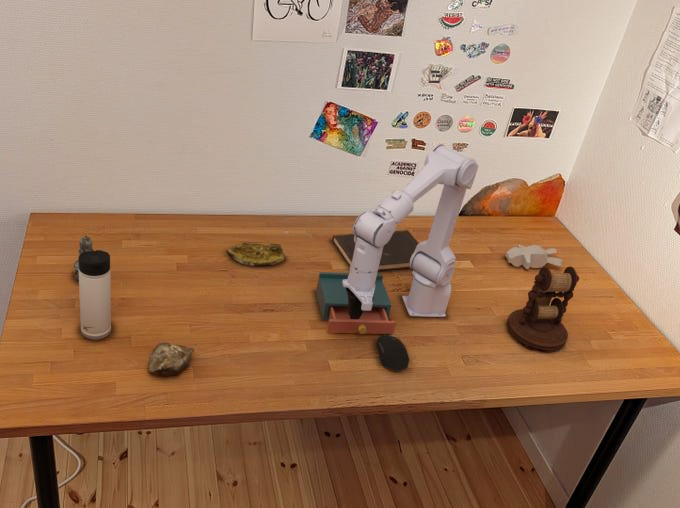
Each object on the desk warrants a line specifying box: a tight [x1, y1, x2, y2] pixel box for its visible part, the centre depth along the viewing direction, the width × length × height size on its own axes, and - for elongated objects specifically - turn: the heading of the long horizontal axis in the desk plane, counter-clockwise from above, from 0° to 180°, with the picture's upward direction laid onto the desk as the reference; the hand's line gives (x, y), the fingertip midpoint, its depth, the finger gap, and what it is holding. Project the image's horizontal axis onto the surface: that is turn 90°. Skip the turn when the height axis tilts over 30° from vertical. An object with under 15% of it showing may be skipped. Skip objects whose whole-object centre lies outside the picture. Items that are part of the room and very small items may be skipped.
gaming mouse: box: [375, 334, 410, 372], centre depth 169 cm, size 6×15×4 cm, turn 9°
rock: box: [147, 342, 195, 376], centre depth 154 cm, size 8×7×10 cm
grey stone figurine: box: [72, 234, 95, 283], centre depth 173 cm, size 6×6×12 cm
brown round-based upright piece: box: [506, 265, 580, 351], centre depth 179 cm, size 15×15×20 cm
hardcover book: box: [331, 229, 420, 272], centre depth 204 cm, size 16×23×2 cm
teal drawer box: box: [315, 271, 392, 321], centre depth 181 cm, size 16×11×6 cm
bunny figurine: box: [505, 244, 564, 270], centre depth 211 cm, size 10×5×15 cm
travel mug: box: [77, 249, 112, 341], centre depth 156 cm, size 6×7×20 cm
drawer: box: [326, 306, 397, 335], centre depth 176 cm, size 16×12×3 cm
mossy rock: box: [226, 242, 285, 267], centre depth 193 cm, size 9×5×15 cm
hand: (353, 316), depth 164 cm, fingers closed
